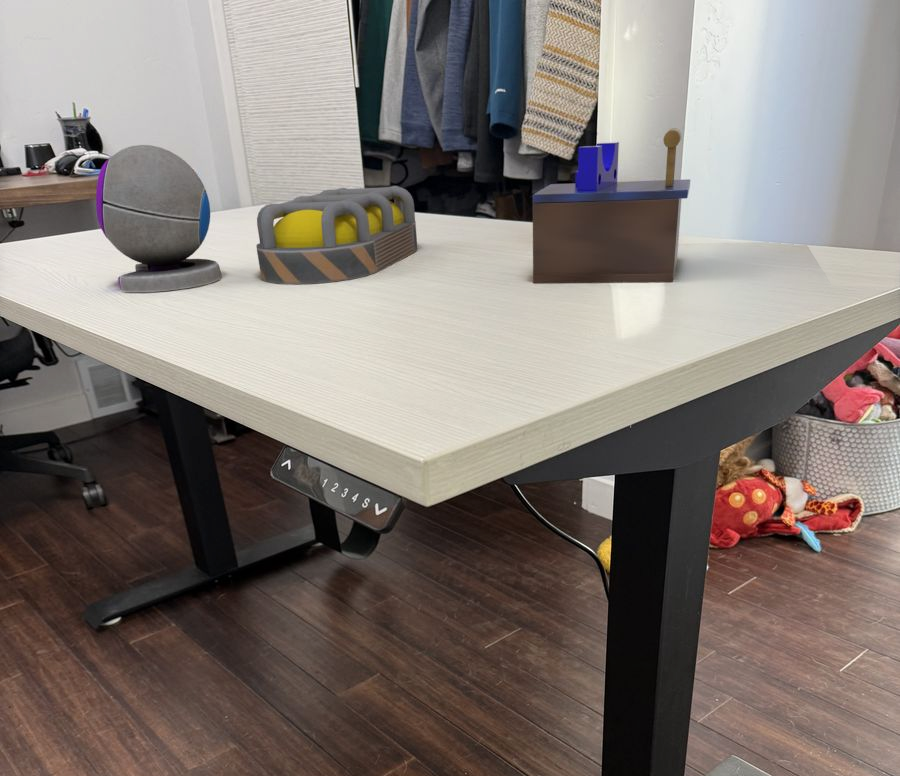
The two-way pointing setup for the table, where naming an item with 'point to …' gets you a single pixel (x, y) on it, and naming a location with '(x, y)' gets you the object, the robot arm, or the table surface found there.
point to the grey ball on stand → (155, 218)
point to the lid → (625, 184)
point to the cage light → (335, 235)
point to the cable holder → (597, 166)
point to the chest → (606, 241)
